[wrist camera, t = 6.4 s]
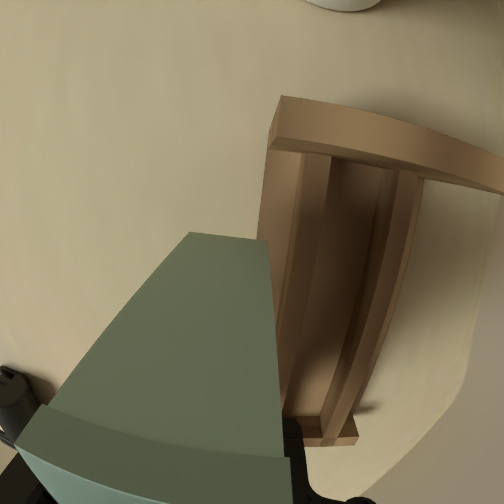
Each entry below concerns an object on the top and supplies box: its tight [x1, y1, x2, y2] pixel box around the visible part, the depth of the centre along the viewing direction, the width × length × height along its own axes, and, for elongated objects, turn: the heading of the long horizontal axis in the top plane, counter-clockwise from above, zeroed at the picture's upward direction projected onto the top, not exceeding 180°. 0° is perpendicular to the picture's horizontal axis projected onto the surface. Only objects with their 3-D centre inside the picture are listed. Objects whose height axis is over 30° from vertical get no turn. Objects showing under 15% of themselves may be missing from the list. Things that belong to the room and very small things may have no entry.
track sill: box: [256, 95, 504, 447], centre depth 16 cm, size 10×22×10 cm, turn 174°
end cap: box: [0, 366, 39, 451], centre depth 22 cm, size 10×7×7 cm
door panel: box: [14, 232, 293, 504], centre depth 9 cm, size 3×12×10 cm, turn 173°
